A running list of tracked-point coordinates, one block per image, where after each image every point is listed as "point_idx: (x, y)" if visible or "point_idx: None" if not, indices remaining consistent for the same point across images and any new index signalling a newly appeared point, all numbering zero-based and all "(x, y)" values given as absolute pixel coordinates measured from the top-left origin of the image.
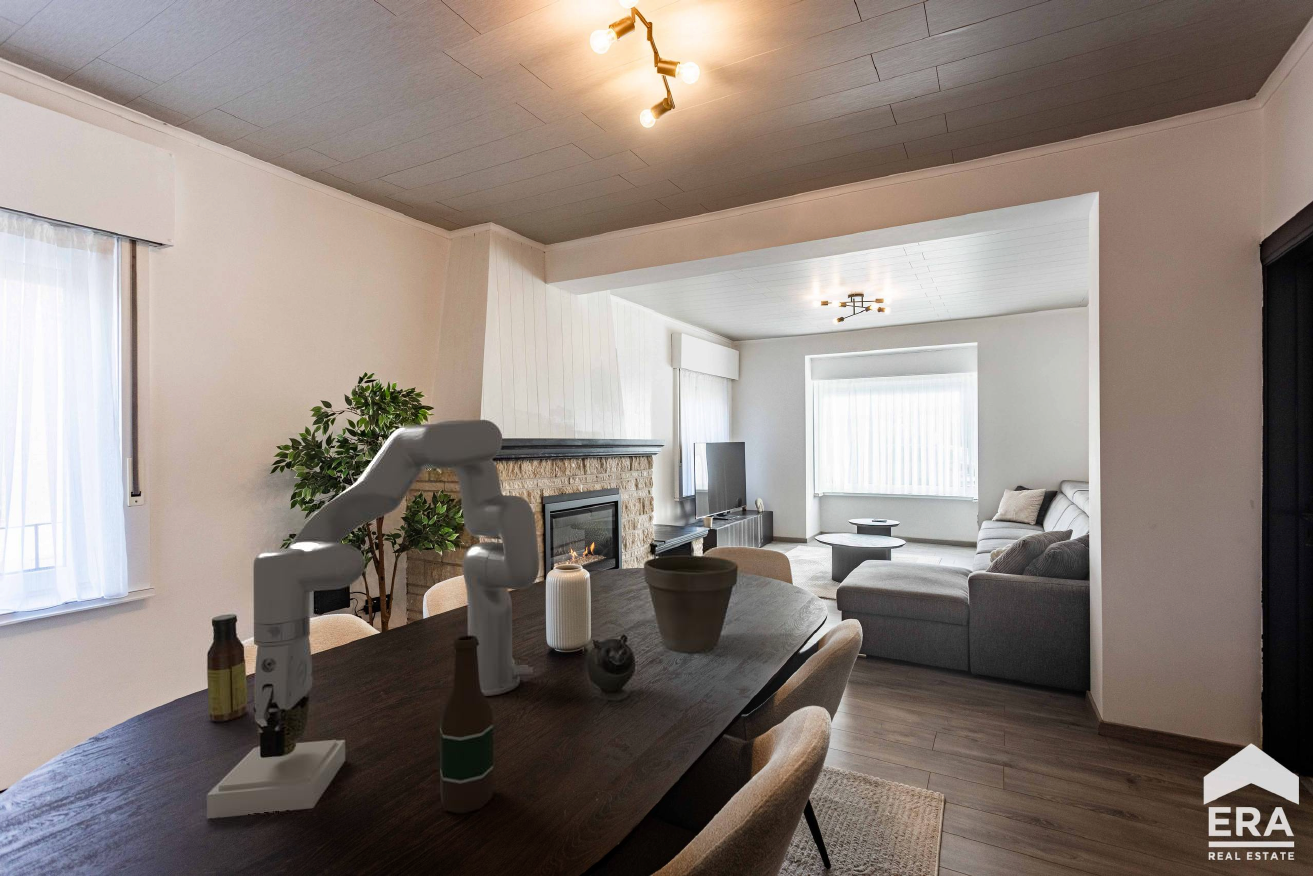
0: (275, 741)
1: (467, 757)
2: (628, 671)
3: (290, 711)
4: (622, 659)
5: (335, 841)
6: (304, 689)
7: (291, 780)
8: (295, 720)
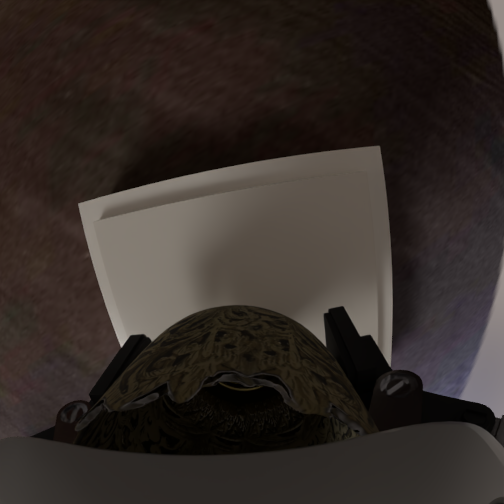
0: (382, 355)
1: None
2: None
3: (363, 419)
4: None
5: (458, 55)
6: (110, 497)
7: (372, 224)
8: (306, 357)
